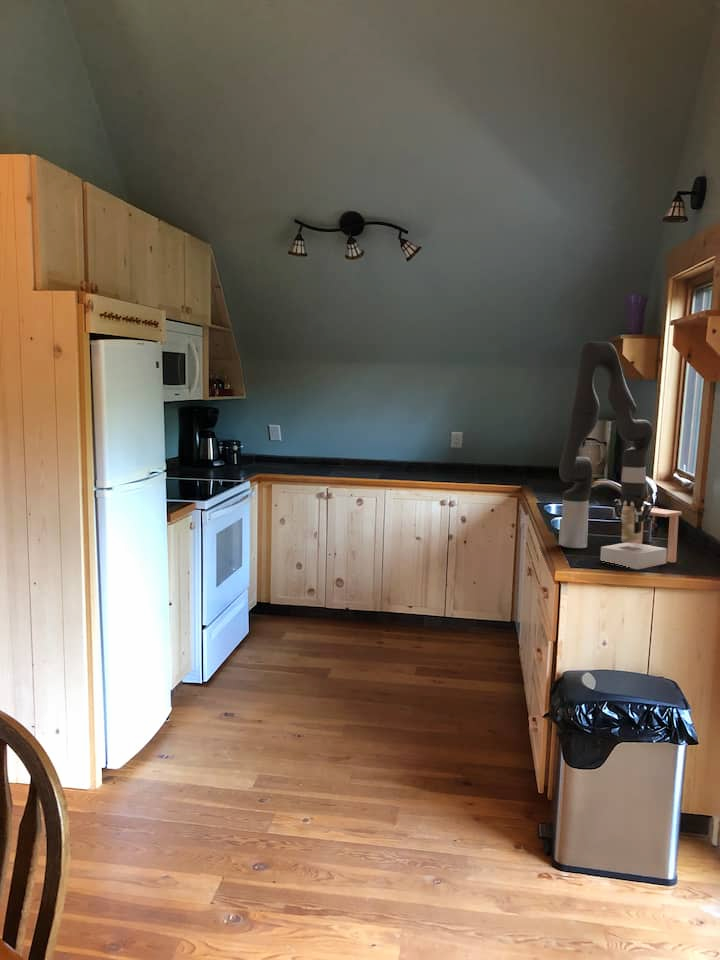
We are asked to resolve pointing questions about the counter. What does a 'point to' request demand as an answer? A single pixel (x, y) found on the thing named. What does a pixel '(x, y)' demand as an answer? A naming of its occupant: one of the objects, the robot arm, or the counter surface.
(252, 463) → the counter surface
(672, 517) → the wooden arch frame
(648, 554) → the socket block
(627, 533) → the peg
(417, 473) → the counter surface
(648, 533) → the supplement bottle
